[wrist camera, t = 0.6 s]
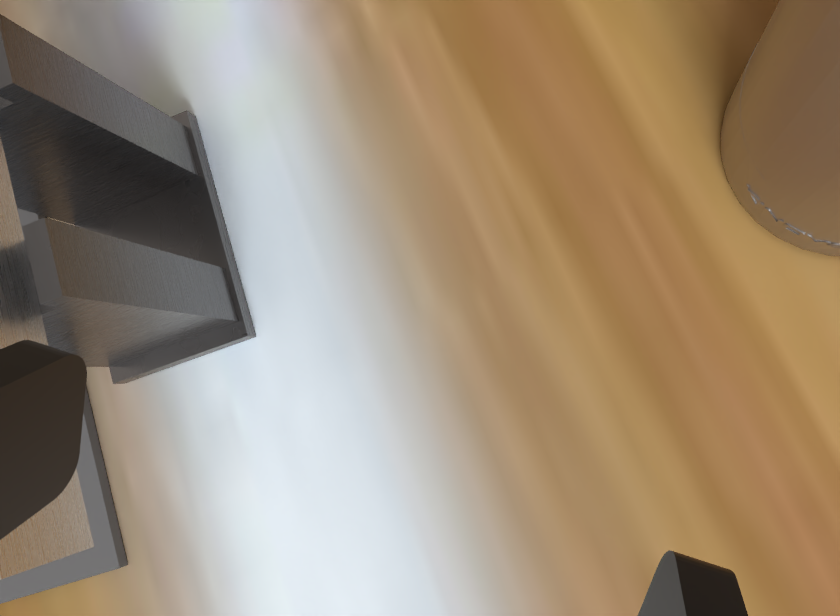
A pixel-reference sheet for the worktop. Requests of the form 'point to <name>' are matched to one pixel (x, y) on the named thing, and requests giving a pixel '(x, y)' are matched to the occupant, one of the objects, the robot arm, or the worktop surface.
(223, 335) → the rack
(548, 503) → the worktop surface
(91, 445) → the mat
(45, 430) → the robot arm
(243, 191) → the worktop surface
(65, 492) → the rail
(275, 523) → the worktop surface
